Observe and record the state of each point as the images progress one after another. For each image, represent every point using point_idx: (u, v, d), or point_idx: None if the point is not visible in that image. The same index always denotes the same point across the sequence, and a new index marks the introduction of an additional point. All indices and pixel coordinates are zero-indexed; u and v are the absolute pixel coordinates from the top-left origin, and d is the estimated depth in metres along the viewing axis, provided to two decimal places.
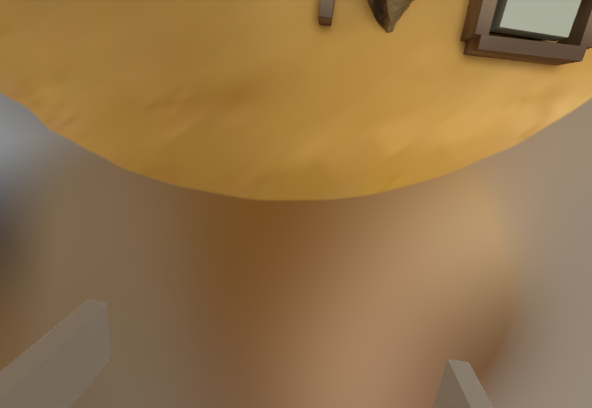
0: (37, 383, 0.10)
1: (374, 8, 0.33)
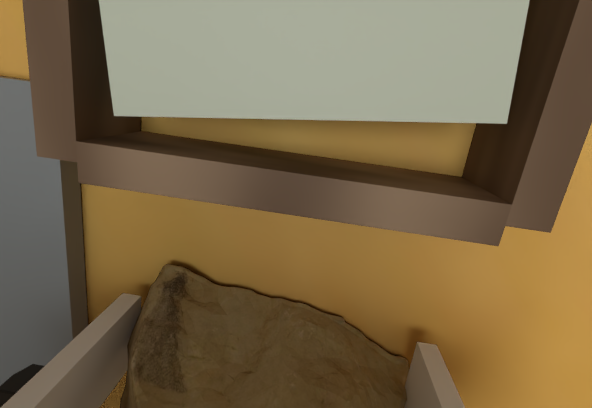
0: (84, 371, 0.11)
1: None
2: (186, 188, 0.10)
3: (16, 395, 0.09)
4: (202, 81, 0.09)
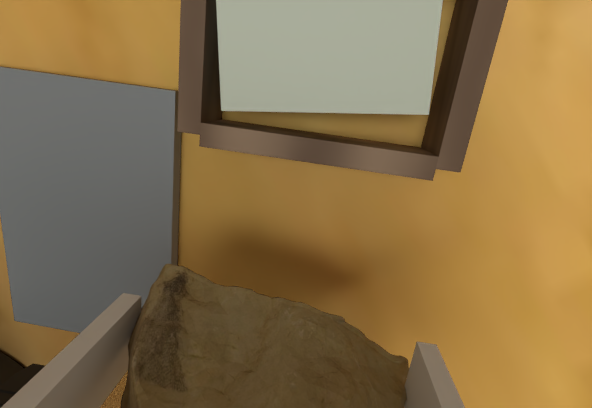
0: (85, 370, 0.11)
1: None
2: (260, 149, 0.18)
3: (17, 395, 0.09)
4: (270, 92, 0.17)
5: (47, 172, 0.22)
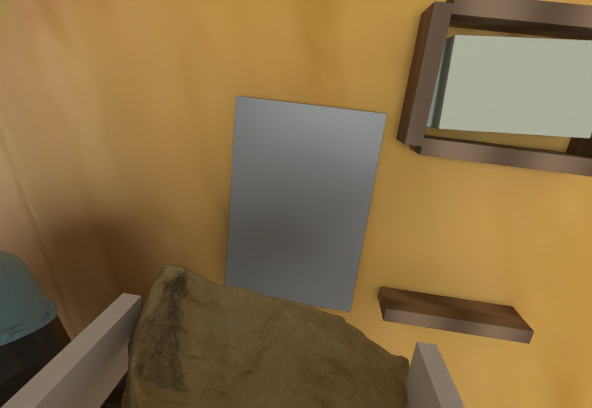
0: (85, 370, 0.11)
1: None
2: (466, 156, 0.25)
3: (17, 395, 0.09)
4: (477, 117, 0.24)
5: (274, 175, 0.29)
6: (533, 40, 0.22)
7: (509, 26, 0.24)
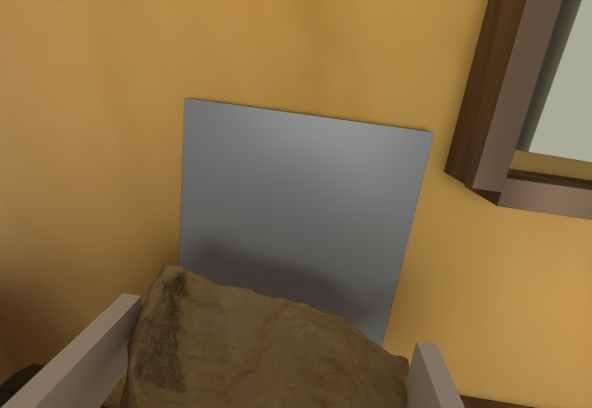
0: (85, 371, 0.11)
1: None
2: (577, 210, 0.14)
3: (17, 395, 0.09)
4: None
5: (247, 226, 0.18)
6: None
7: None
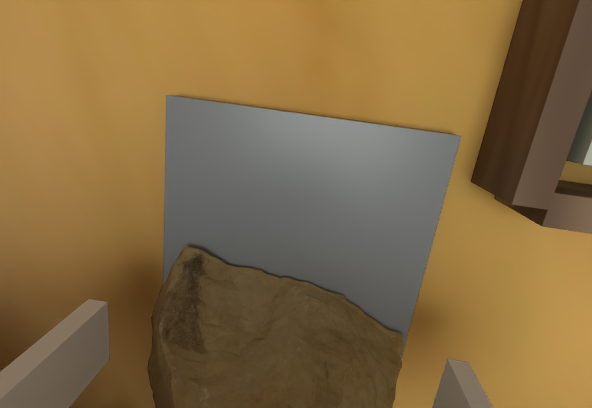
0: (37, 383, 0.10)
1: None
2: None
3: None
4: None
5: (241, 243, 0.16)
6: None
7: None
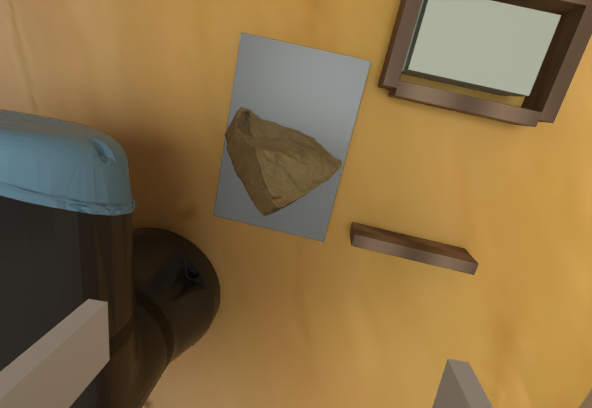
0: (37, 383, 0.10)
1: None
2: (433, 99, 0.29)
3: None
4: (441, 64, 0.28)
5: (267, 109, 0.33)
6: (494, 3, 0.26)
7: None
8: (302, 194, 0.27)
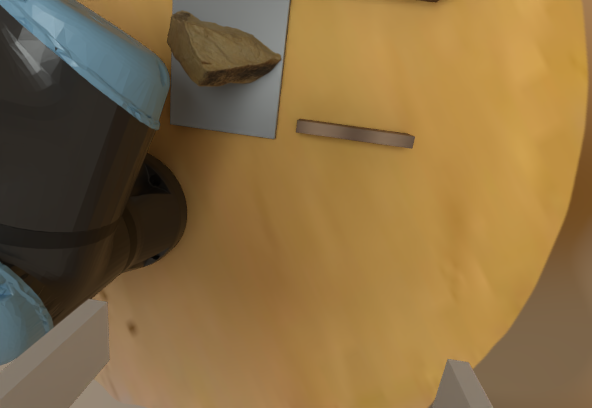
0: (37, 383, 0.10)
1: (260, 74, 0.36)
2: None
3: None
4: None
5: (207, 11, 0.35)
6: None
7: None
8: (233, 66, 0.30)
